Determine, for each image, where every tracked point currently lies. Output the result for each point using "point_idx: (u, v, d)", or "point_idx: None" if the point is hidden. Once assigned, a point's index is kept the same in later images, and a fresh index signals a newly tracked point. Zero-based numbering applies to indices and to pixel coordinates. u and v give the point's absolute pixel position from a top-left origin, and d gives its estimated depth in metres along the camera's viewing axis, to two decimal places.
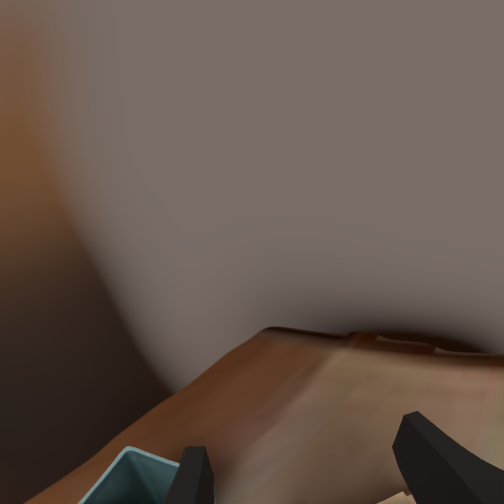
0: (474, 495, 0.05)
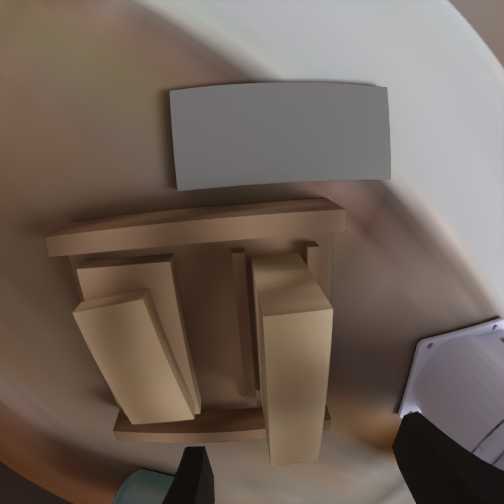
0: (474, 495, 0.05)
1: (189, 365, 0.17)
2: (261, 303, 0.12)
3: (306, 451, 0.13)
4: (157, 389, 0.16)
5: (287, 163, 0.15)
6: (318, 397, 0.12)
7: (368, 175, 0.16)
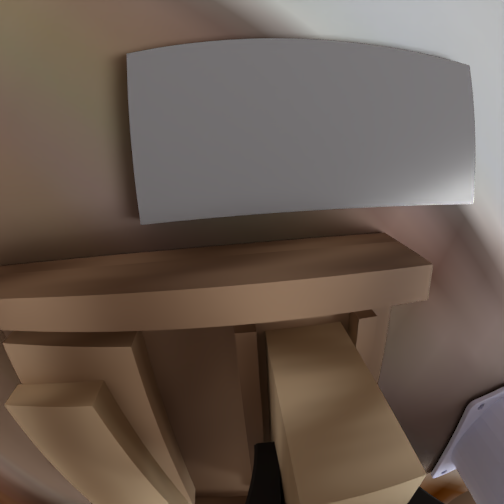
0: None
1: (176, 466, 0.10)
2: (295, 468, 0.05)
3: None
4: (133, 496, 0.09)
5: (329, 176, 0.09)
6: None
7: (447, 198, 0.09)
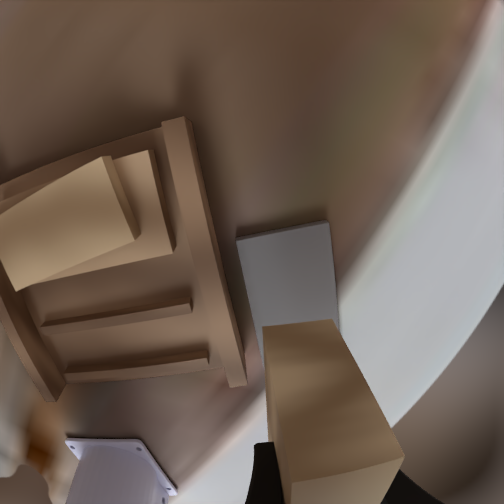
0: None
1: (67, 275, 0.15)
2: (287, 447, 0.06)
3: None
4: (37, 254, 0.13)
5: (270, 325, 0.19)
6: None
7: None
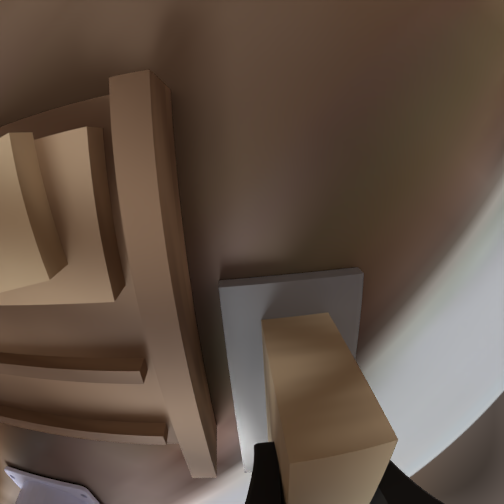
0: None
1: None
2: (285, 431, 0.06)
3: None
4: None
5: (256, 402, 0.12)
6: None
7: (246, 459, 0.14)
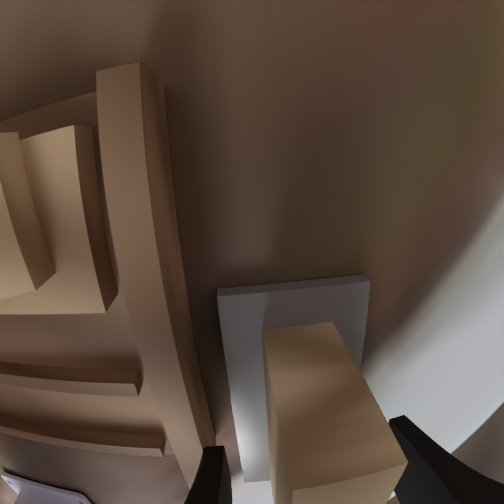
0: (458, 503, 0.05)
1: None
2: (287, 454, 0.06)
3: None
4: None
5: (256, 414, 0.12)
6: None
7: (246, 469, 0.13)
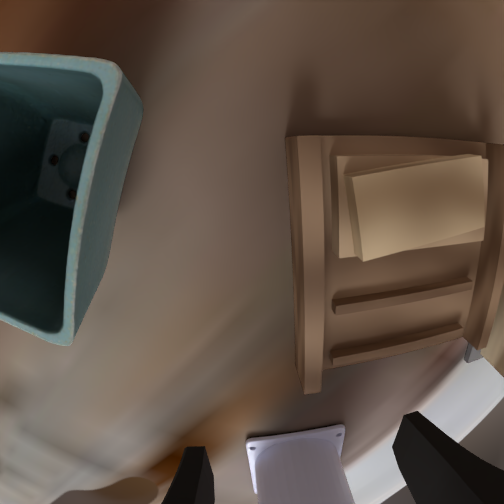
0: (474, 495, 0.05)
1: None
2: None
3: None
4: (409, 224, 0.14)
5: None
6: None
7: (473, 350, 0.21)
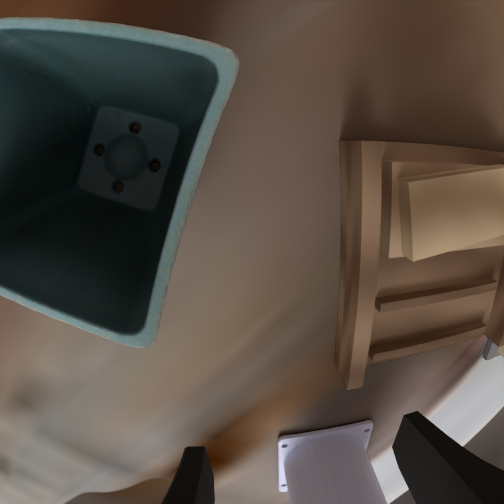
0: (474, 495, 0.05)
1: None
2: None
3: None
4: (452, 228, 0.15)
5: None
6: None
7: (491, 347, 0.21)
